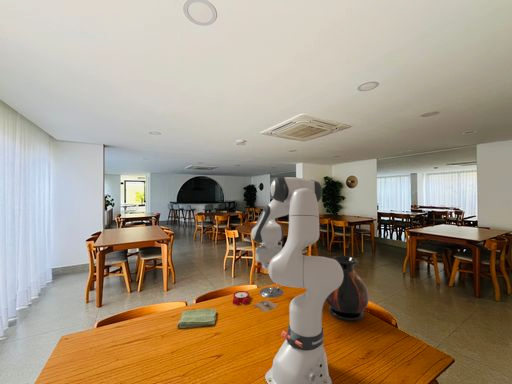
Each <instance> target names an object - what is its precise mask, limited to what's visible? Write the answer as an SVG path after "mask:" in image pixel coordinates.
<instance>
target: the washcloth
mask: <svg viewBox="0 0 512 384" xmlns="http://www.w3.org/2000/svg"><path fill="white" fill-rule="evenodd" d="M216 314H217V309H215V308H204V309H203V308H202V309H189V310H185V311H182V313H181V315H180V319H179V321H178V322H177V324H176V325H177V328H178V329H190V328H197V327H207V326H214V325H215V323H216V319H217V315H216Z"/></svg>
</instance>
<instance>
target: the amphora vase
mask: <svg viewBox="0 0 512 384" xmlns="http://www.w3.org/2000/svg"><path fill="white" fill-rule="evenodd" d="M331 259H334V260H336V261H337V262H338V263H339V264H340V265H341V267H342V270H343V275H344V277H343V282H342V284H341V286H340V287H339V288H338V289H336V290H335V291H333V292H332V293H331V294H330V295H329V296H328V297H327V299H326V300H325V302H326V304H327V305H328V312H329V313H330V315H331V316H333V318H335V319H338V320H340V321H344V322H347V323H349V322H350V323H354V322H359V321H361V320H362V319H363V318H364V311H365V310H366V308H367V307H368V304H369V300H370V299H369V292H368V287H367V285H366V284H365V281H364V280H363V279H362V278H361V277H360V275H358V274H357V272H356V270H355V269H354V266H355V265H357V264H358V263H359V261H358V260H357V259H356V258H354V257H351V256H346V255H345V256H344V255H343V256H342V255H337V256H336V255H335V256H333V257H331Z"/></svg>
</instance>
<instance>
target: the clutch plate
mask: <svg viewBox="0 0 512 384" xmlns="http://www.w3.org/2000/svg"><path fill="white" fill-rule="evenodd" d="M270 261H271V260H266V261H265V265H267V267H266V268H263V264H262V263H261V268H262V269H263V270H266V271H268V267H269V263H270Z"/></svg>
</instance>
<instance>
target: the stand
mask: <svg viewBox="0 0 512 384" xmlns="http://www.w3.org/2000/svg"><path fill="white" fill-rule="evenodd" d="M253 306H254V307H255V308H257V309H259V310H261V311H262V312H264V313H267V312H269V311H271V310H273V309H275V308H277V307H279V305H278V304H276V303H274V302H272V301H270V300H268V299H264V300H262V301H260V302H257V303H255V304H253Z"/></svg>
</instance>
